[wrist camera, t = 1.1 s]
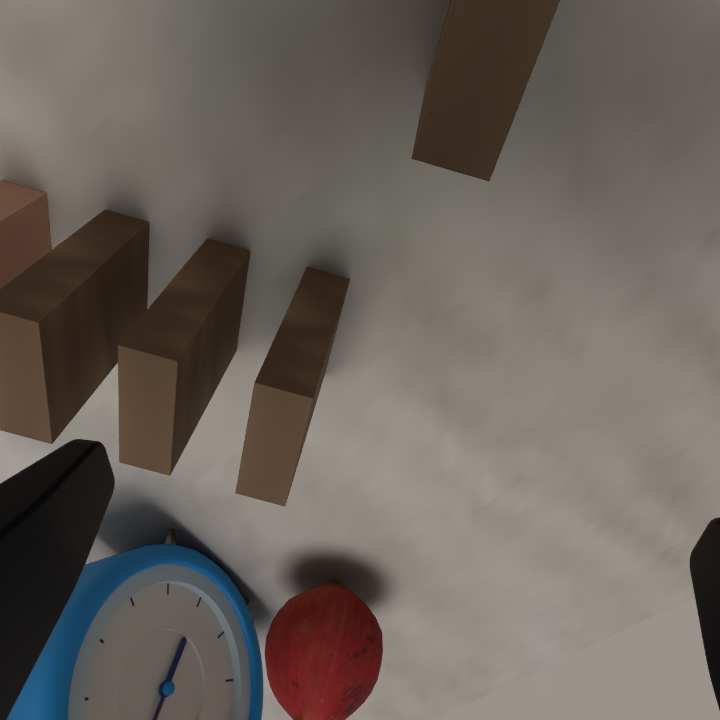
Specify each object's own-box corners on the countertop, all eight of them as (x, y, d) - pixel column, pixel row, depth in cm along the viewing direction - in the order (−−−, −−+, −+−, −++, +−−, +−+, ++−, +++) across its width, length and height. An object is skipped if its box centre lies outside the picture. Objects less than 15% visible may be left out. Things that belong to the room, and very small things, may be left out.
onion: (391, 558, 30) (374, 727, 23) (386, 619, 33) (370, 781, 27) (281, 545, 30) (235, 706, 24) (287, 606, 34) (248, 762, 27)
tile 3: (250, 250, 21) (177, 361, 15) (236, 351, 23) (170, 475, 18) (206, 238, 21) (117, 345, 15) (197, 340, 23) (119, 462, 18)
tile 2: (349, 279, 21) (313, 398, 15) (324, 375, 24) (285, 506, 18) (307, 267, 21) (254, 382, 15) (286, 365, 23) (235, 493, 18)
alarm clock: (290, 624, 35) (204, 983, 23) (213, 640, 37) (98, 973, 25) (145, 486, 29) (-73, 870, 17) (65, 516, 31) (-177, 871, 19)
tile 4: (149, 221, 20) (38, 322, 15) (146, 326, 23) (52, 444, 18) (105, 209, 20) (-23, 306, 15) (107, 315, 23) (0, 430, 18)
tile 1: (544, -89, 14) (602, -110, 9) (477, 104, 17) (489, 181, 11) (482, -109, 14) (500, -142, 9) (425, 88, 17) (411, 158, 11)
